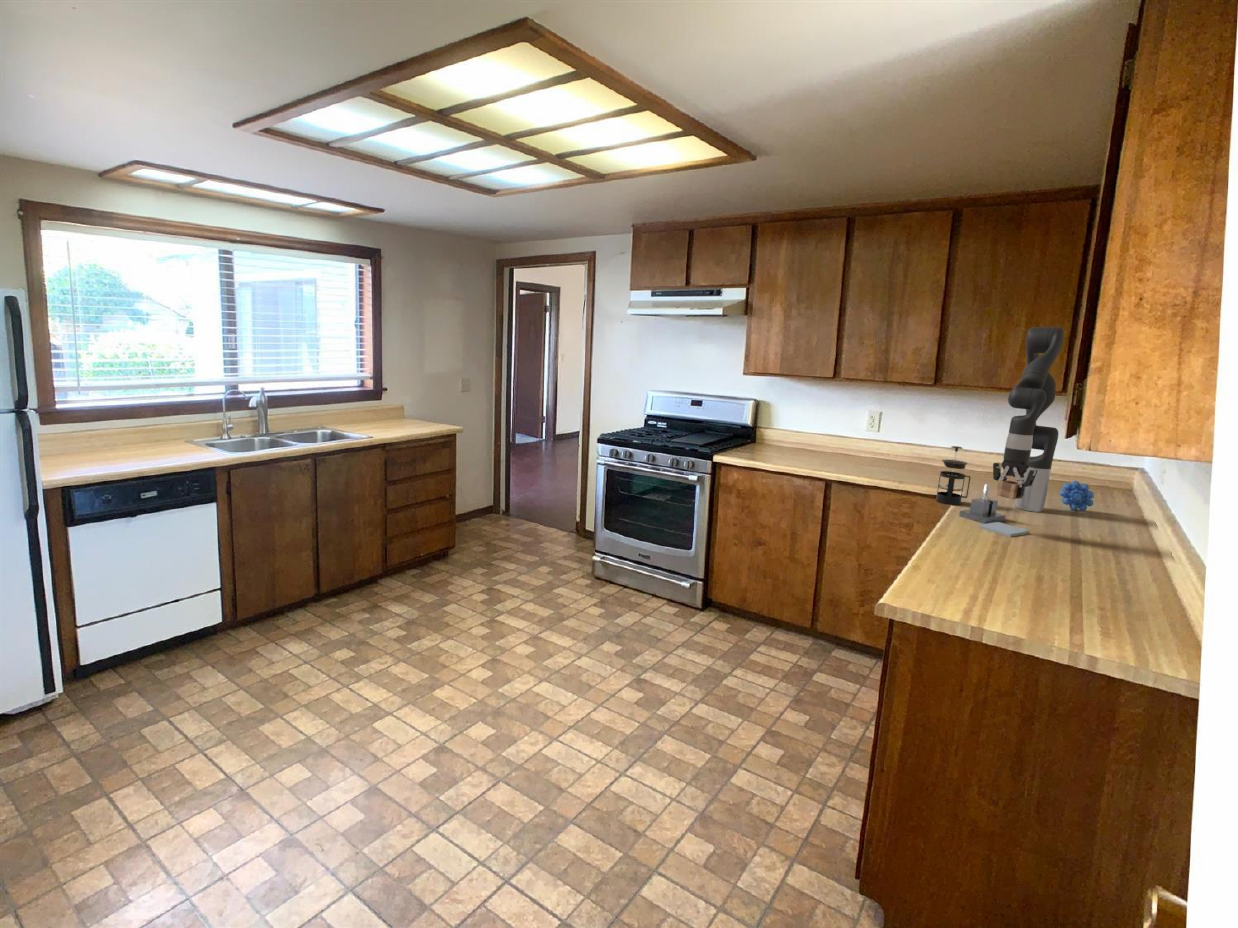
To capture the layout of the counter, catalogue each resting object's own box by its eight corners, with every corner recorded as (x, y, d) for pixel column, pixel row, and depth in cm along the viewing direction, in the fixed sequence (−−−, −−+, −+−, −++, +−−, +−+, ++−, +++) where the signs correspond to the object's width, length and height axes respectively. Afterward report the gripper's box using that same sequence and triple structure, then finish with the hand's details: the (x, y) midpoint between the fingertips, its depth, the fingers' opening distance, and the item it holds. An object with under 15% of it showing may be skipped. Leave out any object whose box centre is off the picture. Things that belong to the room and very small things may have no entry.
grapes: (1057, 510, 255) (1063, 480, 253) (1055, 506, 261) (1061, 477, 259) (1093, 515, 250) (1099, 485, 247) (1090, 511, 256) (1096, 482, 253)
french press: (933, 502, 257) (942, 446, 252) (933, 497, 265) (941, 443, 260) (966, 507, 252) (975, 450, 247) (965, 502, 260) (974, 446, 256)
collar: (1006, 494, 223) (1008, 480, 222) (1022, 498, 218) (1024, 483, 217) (996, 495, 220) (999, 481, 219) (1012, 499, 215) (1015, 484, 215)
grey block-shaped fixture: (978, 513, 244) (984, 480, 241) (1004, 520, 235) (1010, 486, 232) (959, 516, 238) (964, 482, 235) (984, 523, 229) (990, 488, 227)
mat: (997, 524, 229) (998, 521, 229) (1028, 533, 219) (1029, 530, 219) (978, 527, 224) (979, 524, 224) (1009, 536, 214) (1010, 534, 214)
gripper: (1046, 450, 211) (1037, 500, 215) (1003, 443, 224) (995, 490, 227) (1033, 451, 208) (1024, 501, 211) (991, 443, 220) (982, 491, 224)
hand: (1009, 495), depth 219 cm, fingers closed on collar, 5 cm apart
